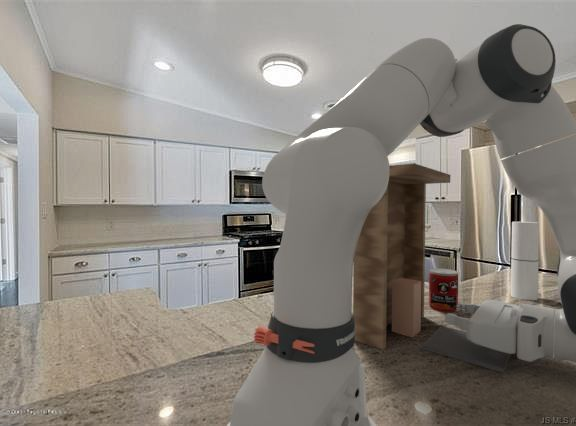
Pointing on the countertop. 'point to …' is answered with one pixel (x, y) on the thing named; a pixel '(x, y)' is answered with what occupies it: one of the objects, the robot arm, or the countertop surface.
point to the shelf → (391, 249)
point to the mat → (465, 349)
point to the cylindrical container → (525, 260)
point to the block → (406, 307)
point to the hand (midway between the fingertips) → (451, 311)
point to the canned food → (443, 289)
